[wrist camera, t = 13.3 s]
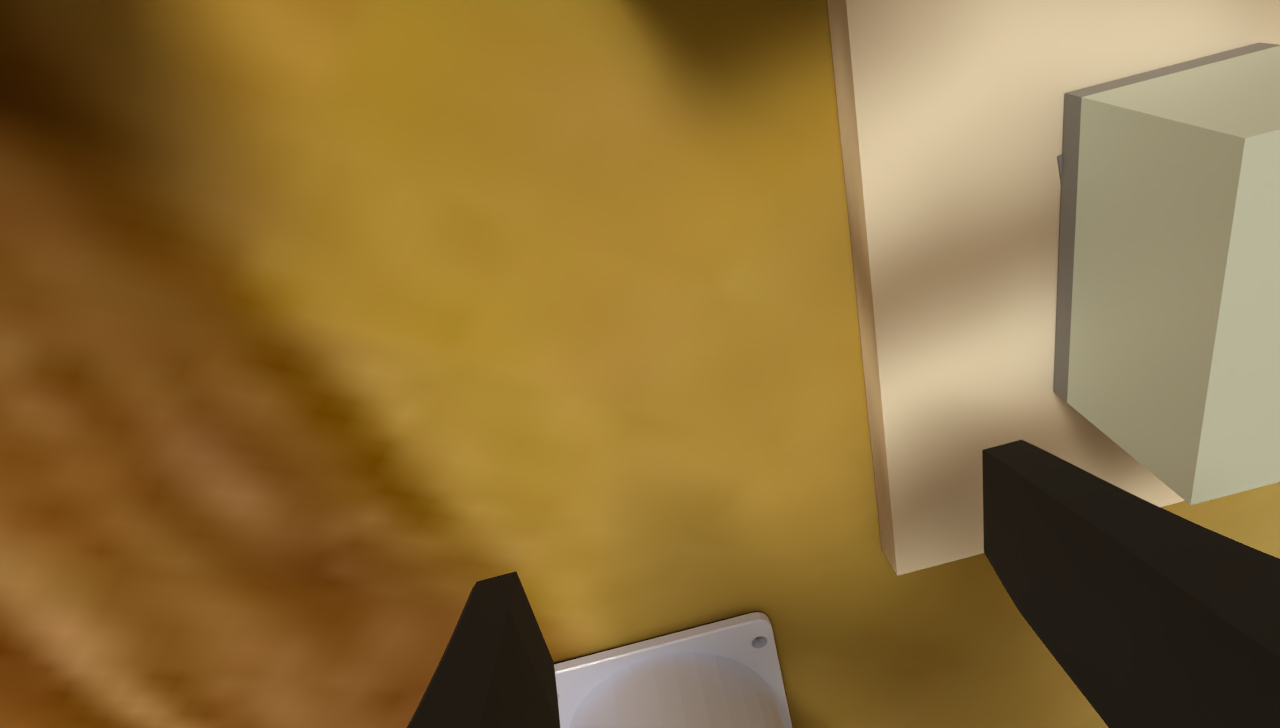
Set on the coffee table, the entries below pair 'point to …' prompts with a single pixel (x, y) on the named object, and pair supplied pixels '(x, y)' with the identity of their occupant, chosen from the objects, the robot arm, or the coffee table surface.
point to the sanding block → (1176, 269)
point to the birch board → (980, 231)
